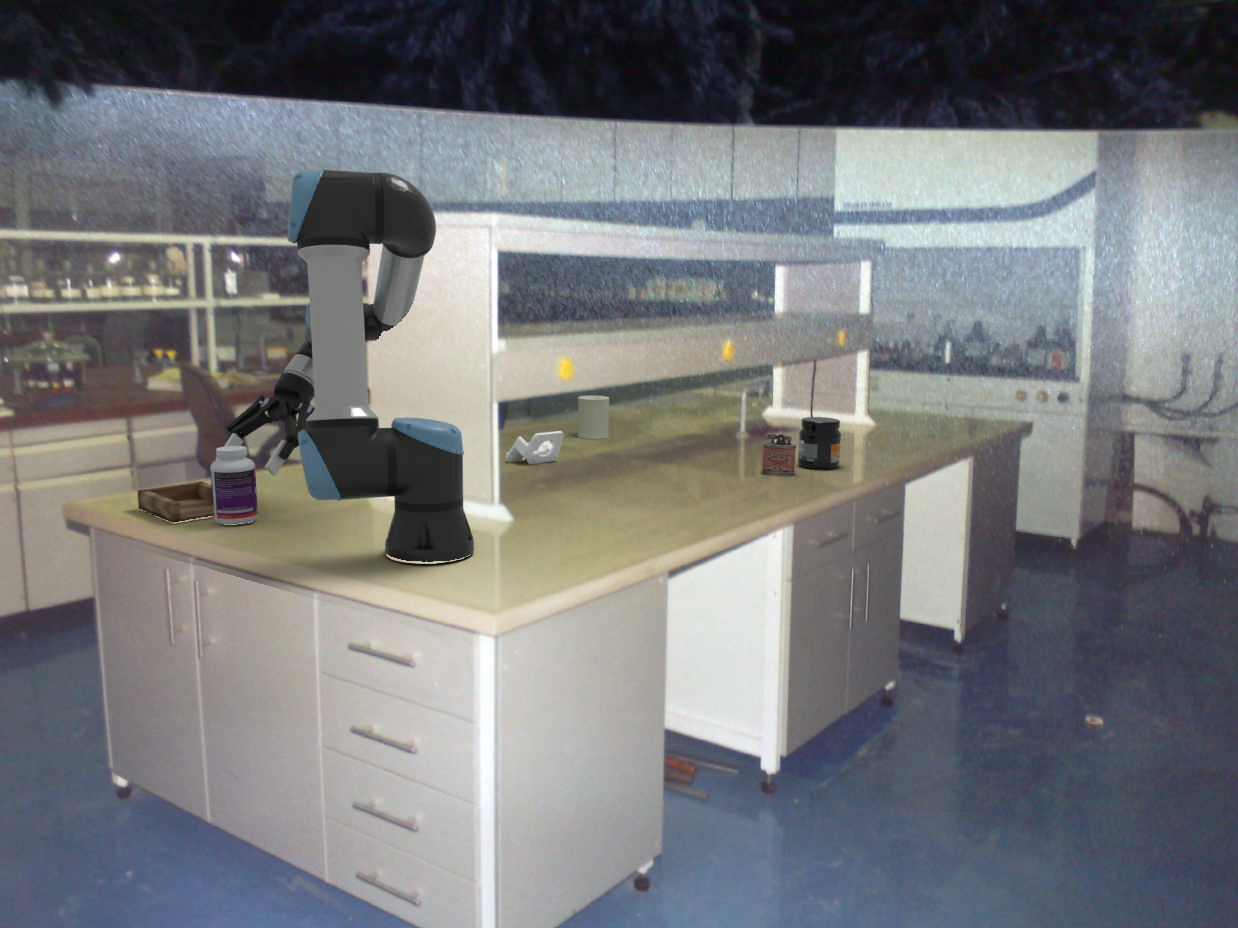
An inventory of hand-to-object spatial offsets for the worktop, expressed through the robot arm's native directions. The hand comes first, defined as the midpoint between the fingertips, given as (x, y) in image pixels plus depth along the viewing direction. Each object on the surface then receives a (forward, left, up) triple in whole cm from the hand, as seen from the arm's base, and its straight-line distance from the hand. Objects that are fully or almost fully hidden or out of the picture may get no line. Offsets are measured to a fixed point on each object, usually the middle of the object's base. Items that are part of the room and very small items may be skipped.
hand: (244, 467), depth 201 cm
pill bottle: (-2, +3, -10) cm, 11 cm away
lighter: (-45, -114, -10) cm, 123 cm away
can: (+24, -119, -10) cm, 122 cm away
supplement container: (-46, -130, -10) cm, 138 cm away
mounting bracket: (+6, -80, -10) cm, 81 cm away
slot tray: (+12, +6, -10) cm, 17 cm away
